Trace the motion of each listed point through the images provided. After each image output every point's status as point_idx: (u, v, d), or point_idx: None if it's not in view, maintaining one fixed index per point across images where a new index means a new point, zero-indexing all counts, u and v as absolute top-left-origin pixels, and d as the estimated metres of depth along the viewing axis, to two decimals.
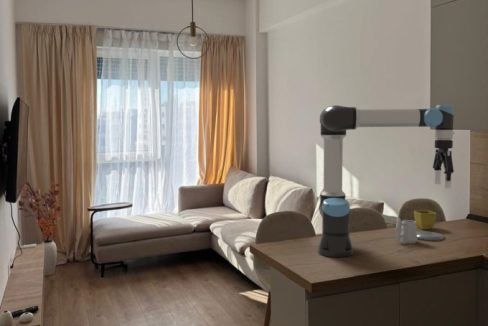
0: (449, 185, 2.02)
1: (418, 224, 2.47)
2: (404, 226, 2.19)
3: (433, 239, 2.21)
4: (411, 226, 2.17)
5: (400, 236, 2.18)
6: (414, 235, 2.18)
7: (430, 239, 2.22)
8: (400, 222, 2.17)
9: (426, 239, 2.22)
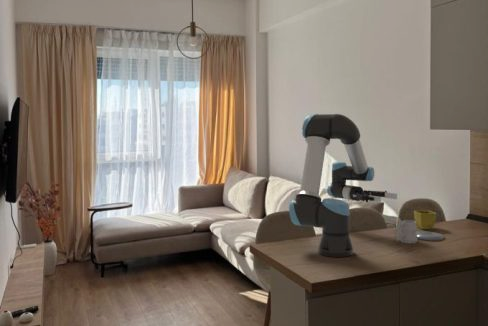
0: None
1: (418, 224, 2.47)
2: (404, 226, 2.19)
3: (433, 239, 2.21)
4: (411, 226, 2.17)
5: (400, 236, 2.18)
6: (414, 235, 2.18)
7: (430, 239, 2.22)
8: (400, 222, 2.17)
9: (426, 239, 2.22)
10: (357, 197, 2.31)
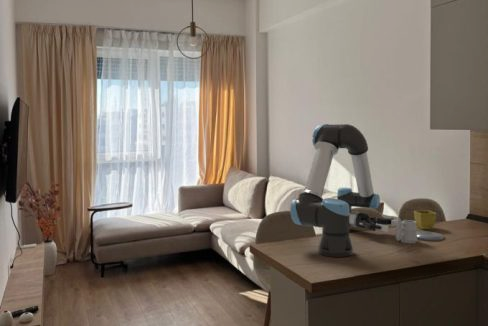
0: None
1: (418, 224, 2.47)
2: (404, 226, 2.19)
3: (433, 239, 2.21)
4: (411, 226, 2.17)
5: (400, 236, 2.18)
6: (414, 235, 2.18)
7: (430, 239, 2.22)
8: (400, 222, 2.17)
9: (426, 239, 2.22)
10: (364, 225, 2.29)
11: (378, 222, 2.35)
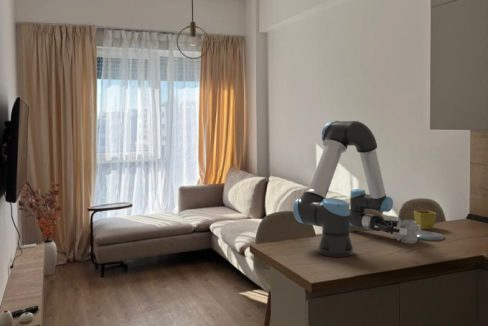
0: None
1: (418, 224, 2.47)
2: (404, 226, 2.19)
3: (433, 239, 2.21)
4: (411, 226, 2.17)
5: (400, 236, 2.18)
6: (414, 235, 2.18)
7: (430, 239, 2.22)
8: (400, 222, 2.17)
9: (426, 239, 2.22)
10: (380, 228, 2.22)
11: (393, 225, 2.28)
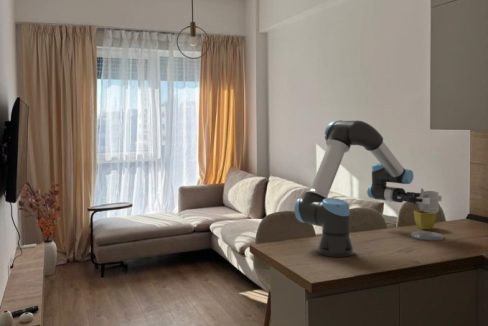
0: None
1: (418, 224, 2.47)
2: (427, 196, 2.26)
3: (433, 239, 2.21)
4: (433, 196, 2.25)
5: (423, 206, 2.26)
6: (436, 205, 2.25)
7: (430, 239, 2.22)
8: (423, 192, 2.25)
9: (426, 239, 2.22)
10: (402, 199, 2.29)
11: (415, 196, 2.35)
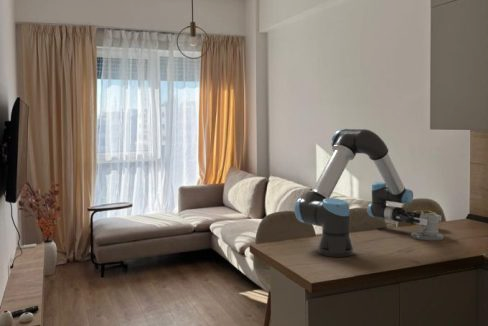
0: None
1: None
2: None
3: (433, 239, 2.21)
4: (433, 219, 2.26)
5: (422, 229, 2.27)
6: (436, 228, 2.26)
7: (430, 239, 2.22)
8: (423, 215, 2.26)
9: (426, 239, 2.22)
10: (401, 219, 2.31)
11: (415, 216, 2.37)
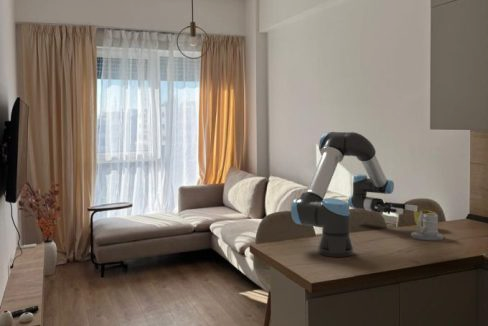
0: None
1: None
2: (426, 219, 2.27)
3: (433, 239, 2.21)
4: (433, 219, 2.26)
5: (422, 229, 2.27)
6: (436, 228, 2.26)
7: (430, 239, 2.22)
8: (422, 215, 2.26)
9: (426, 239, 2.22)
10: (379, 209, 2.41)
11: (392, 206, 2.46)
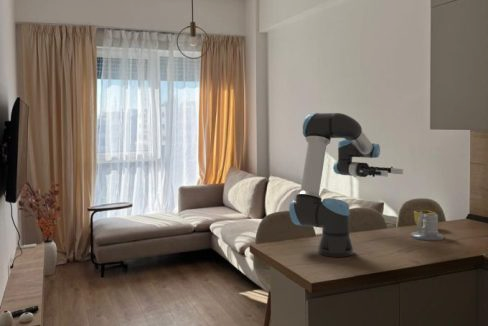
0: None
1: None
2: (426, 219, 2.27)
3: (433, 239, 2.21)
4: (433, 219, 2.26)
5: (422, 229, 2.27)
6: (436, 228, 2.26)
7: (430, 239, 2.22)
8: (422, 215, 2.26)
9: (426, 239, 2.22)
10: (364, 172, 2.34)
11: None
